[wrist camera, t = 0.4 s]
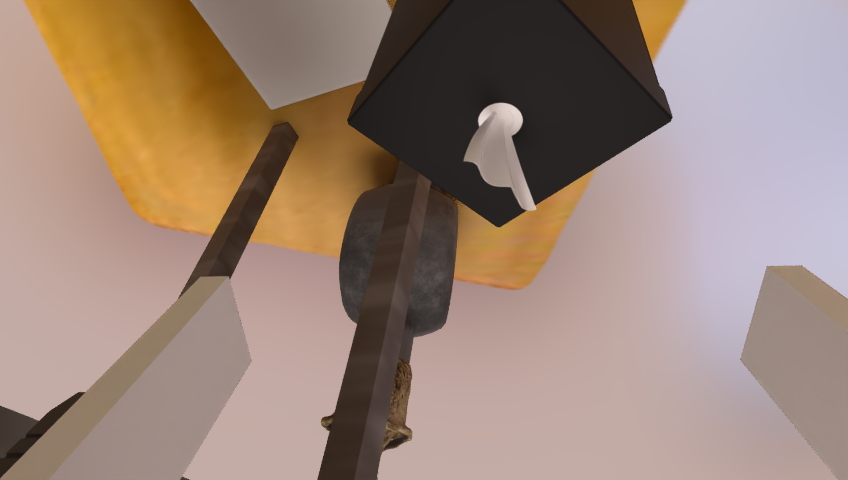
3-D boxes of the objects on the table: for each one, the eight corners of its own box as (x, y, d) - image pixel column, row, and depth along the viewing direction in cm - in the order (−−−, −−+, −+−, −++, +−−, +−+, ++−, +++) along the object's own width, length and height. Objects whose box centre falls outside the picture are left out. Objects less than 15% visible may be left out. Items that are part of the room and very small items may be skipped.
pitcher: (466, 149, 49) (429, 455, 30) (457, 260, 63) (428, 512, 44) (363, 140, 50) (263, 431, 31) (377, 252, 64) (316, 495, 45)
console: (65, -137, 34) (-1066, 344, 10) (292, -299, 26) (-2260, 65, 2) (280, 142, 51) (65, 557, 27) (451, 93, 44) (363, 607, 20)
